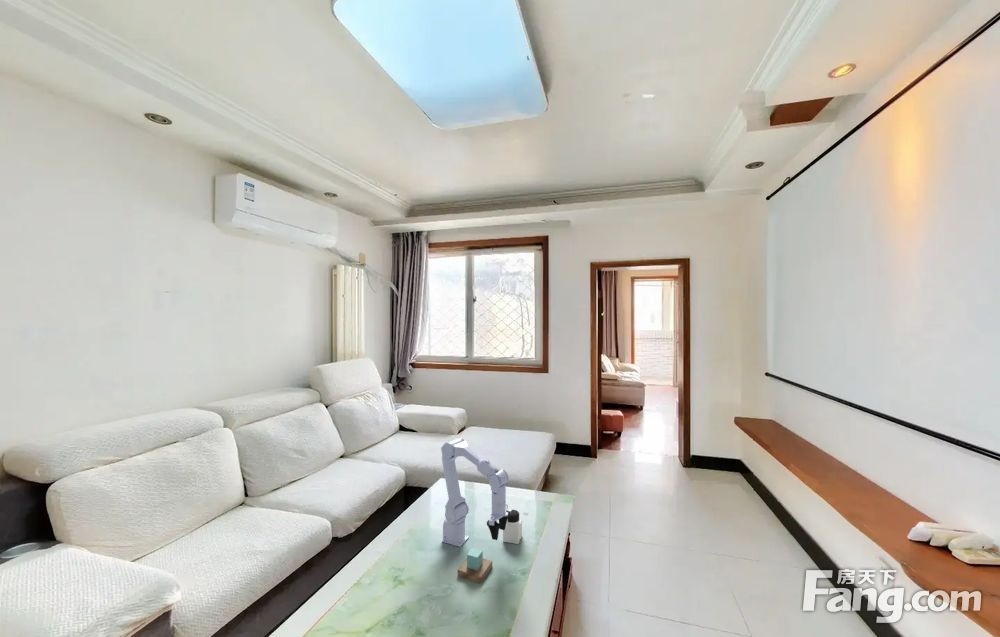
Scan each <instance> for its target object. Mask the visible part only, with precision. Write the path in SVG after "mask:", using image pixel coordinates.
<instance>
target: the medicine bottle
mask: <svg viewBox="0 0 1000 637" xmlns="http://www.w3.org/2000/svg"><path fill="white" fill-rule="evenodd" d="M507 511H510V514H509V516H508V519H507V523H506V527H505V530H502V542H503V543H509V544H516V545H519V544H520V542H521V538H522V536H523V520H522V519H520V512H519V511H518V510H516V509H507Z"/></svg>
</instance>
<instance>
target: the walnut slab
mask: <svg viewBox="0 0 1000 637" xmlns="http://www.w3.org/2000/svg"><path fill="white" fill-rule="evenodd" d="M492 569H493V560H490V559H487V558H484V557H483V564H482V565H481V566H480V568H479V569H478V571H477V570H474V569H470V568H467V558H466V559H465V560H464V561H463V562H462V564H460V566H459V568H457V577H459V578H463V579H465V580H469V581H473V582H476V583H479V584H482V583H483V581H484V580H485V579H486V577H487V575H488V574H489V572H490V571H491V570H492Z"/></svg>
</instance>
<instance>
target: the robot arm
mask: <svg viewBox="0 0 1000 637" xmlns="http://www.w3.org/2000/svg"><path fill="white" fill-rule="evenodd" d="M440 449H441V450H440V451H441V462H442V467H443V468H442V469H443V473H444V474H443V475H444V480H445V485H446V492H447V497H448V500H447V502H446V504H445V505H444V508H445V512H444V518H445V519H444V520H443V524H442V540H441V542H442V543H445V544H449V545H452V546H456V547H459V548H460V547H462V546H463V544H464V543H465V542H466V541H467V540H468V539H469V538H470V536H469V535H466V518H467V515H468V514H469V511H470V510H469V506H468V504H467V502H466V501H467V500H466V498H465V497H464V496H462V495H461V488H460V483H459V478H458V472H457V471H458V470H457V467H456V459H457V458H458V457H459V458H460V457H464V458H465V459H466V460H468V461H469V462H470V463H471V464H473V465H475V466H476V468H477V470H476V471H478V473H480V474H481V475H482V476H483V477H484V478H486V479H487V480H488V484H489V486H490V490H491V511H490V516H489V519H488V520H487V521H486V526H487V527H488V529H489V532H490V536H491V539H492V540H493V541H494V540H495V541H497V540H498V539H499V530H502V531H503V530H505V527H506V523H507V519H508V516H509V514H510V511H508V510H509V505H508V503H506V501H507V500H506V499H507V497H506V496H507V491H506V490H507V486H506V484H507V482H508V481H509V475H508V473H507V471H506V470H505V469H504V468H499V467H496V465H494V464H492V463H491V461H490V460H489V459H485V458H483V459H482V458H481V457H480V456H479V455H478V454H477V452H475V451H474V450H473V449H472V448H471V447H470V446H469V444H468V441H466V440H465V439H464V438H463V437H457V438H455V439H453V440H451V441H448V442H445V443H443V445H442V446H441V447H440Z"/></svg>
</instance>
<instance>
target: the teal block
mask: <svg viewBox="0 0 1000 637" xmlns="http://www.w3.org/2000/svg"><path fill="white" fill-rule="evenodd" d="M483 553H484V551H483V550H480V549H477V548H474V547H472V548H471V549H470V550H469V552H468V553H467V554H466V559H467V568H470V569H474V570H477V571H478V569H479V568H480V566H481V565H482V564H483V558H484V557H483V555H484V554H483Z"/></svg>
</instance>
